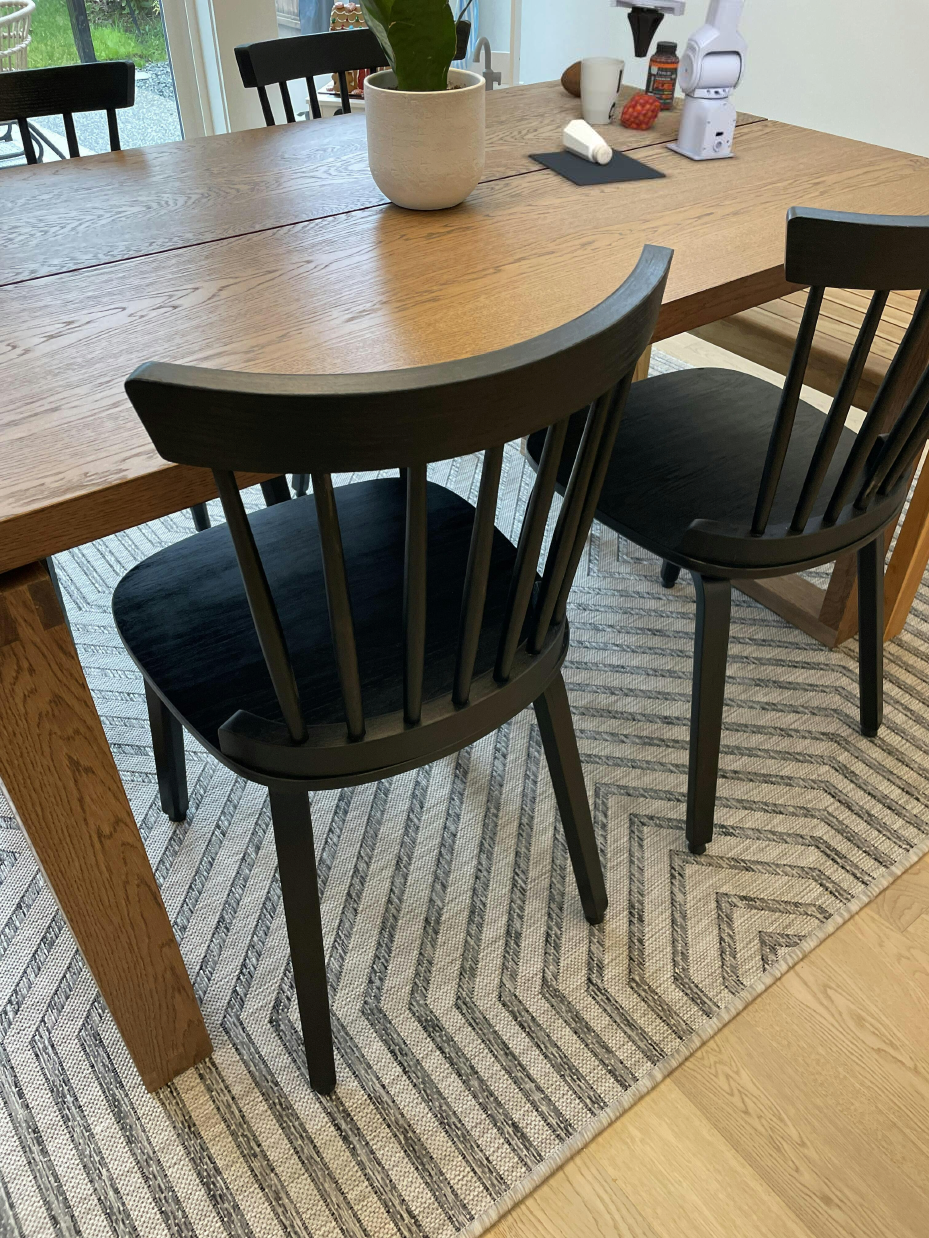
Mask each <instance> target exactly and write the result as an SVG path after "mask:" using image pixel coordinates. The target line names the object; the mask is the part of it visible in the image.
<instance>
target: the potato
mask: <svg viewBox="0 0 929 1238" xmlns="http://www.w3.org/2000/svg"><path fill="white" fill-rule="evenodd" d="M580 82H581V60H578V61H576V62H574V63H572V64H570V66H568V67H567V68H566V69H565V70H564V71H563V72H562V73H561V76H560V84H561V86H562V88H563V89H564V90H565V91H566V92H567V93H568V94H569V95H571V96H573V97H576V98H581V88H580Z"/></svg>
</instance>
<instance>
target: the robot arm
mask: <svg viewBox="0 0 929 1238" xmlns="http://www.w3.org/2000/svg"><path fill="white" fill-rule="evenodd" d="M744 4H745V0H709V3H708V8H707V12H706V15H705V21H704V23H703V24H702V25H701V26H700V27H699V28H698V29H697V30H696V31H695V32H693V33H692V34H691V35H690V36H689V37H688V38H687V42H686V46H685V48H684V51H683V53H682V54H681V57H680V58H679V60H680V61H679V64H678V70H677V83H678V85H679V87H680V90H681V93H683V94H684V97H683V102H682V103H683V104H682V110H681V115H680V116H681V117H680V124H679V129H678V135H677V142H674V143H666V148H668V149H670V150H672V151H675V152H677V153H679V154H681V155H683V156H685V157H687V158H690V159H692V160H694V161H703V160H712V159H724V158H732V157H734V156H735V155H734V154H735V153H733V152H731V149H732V145H733V139H734V134H735V129H736V123H737V118H738V117H737V109H736V107H735V105H733V104H732V103H731V102H730V100H729V97H730V96H733V94H734V90H736V89H737V88H738V87H739V85H740V84H741V82H742V80H743V77H744V75H745V70H746V54H747V50H748V43H747V42H746V40H745V38H744V36H743V35H742V34H741V32H740V31H739V30H738V28H739V23H740V19H741V16H742V13H743V12H742V11H743V9H744ZM610 7H614V8H624V9H630V12H627V20H628V24H629V26H630V30H631V34H632V40H633V50H634V58H638V59H642V58H646V57H647V55H648V52H649V49H650V46H651V43H652V41H653V39H654V36H655V35H656V32H657V30H658V28H659V27H660V25H661V24H662V22H663V20H664V18H665V15H666V14H667V15H673V16H675V17H680V16H681V17H682V16H684V15H685V10H686V1H679V0H610Z"/></svg>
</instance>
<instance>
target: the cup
mask: <svg viewBox="0 0 929 1238" xmlns="http://www.w3.org/2000/svg"><path fill="white" fill-rule="evenodd" d="M580 61H581V82H580V88H581V97H580V104H581V111H582V115H583V116H582V117H583V120H584V121H585V122H586V123H587V124H590V125H608V124H610V123H611V122H612V119H613V117H614V113H615V111H616V108H617V105H618V102H619V97H620V93H621V90H622V85H623V77H624V73H625V72H624V71H625V66H626V61H625V60H623V59H620V58H616V57H608V56H593V57H592V56H591V57H585V58H582V59H581V60H580Z"/></svg>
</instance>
